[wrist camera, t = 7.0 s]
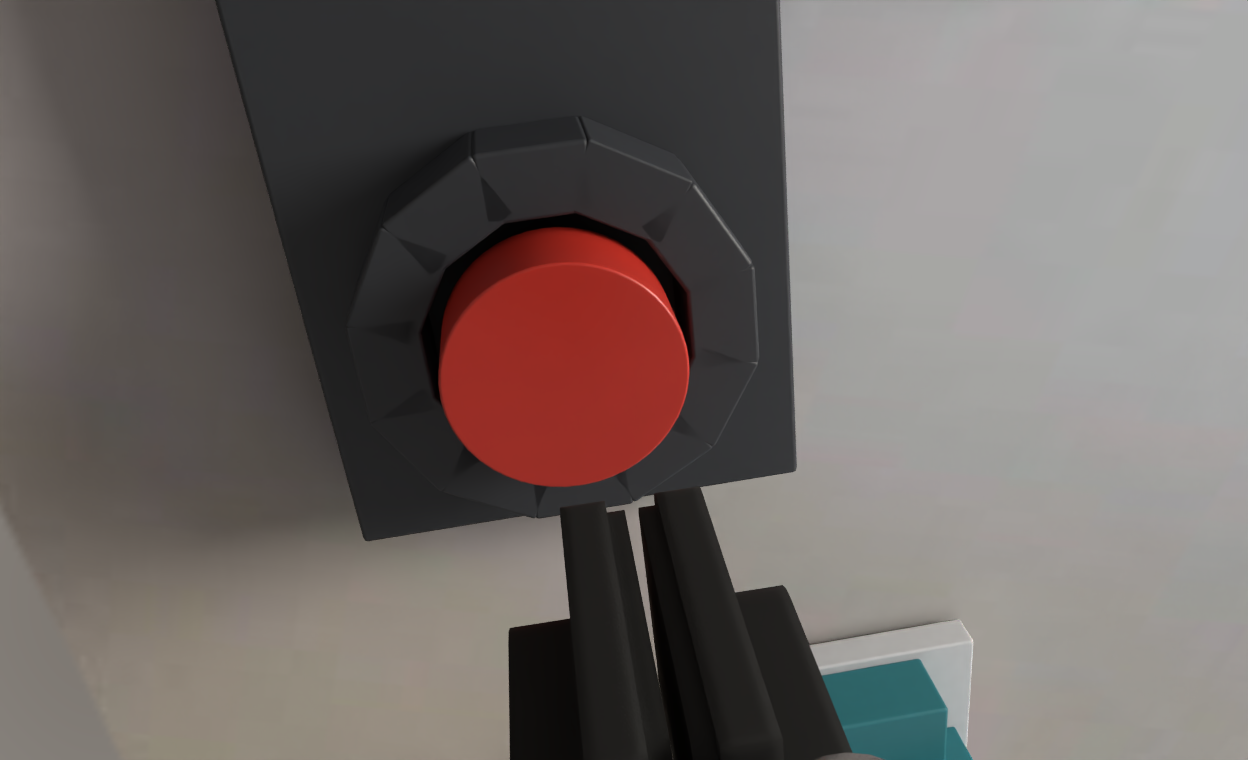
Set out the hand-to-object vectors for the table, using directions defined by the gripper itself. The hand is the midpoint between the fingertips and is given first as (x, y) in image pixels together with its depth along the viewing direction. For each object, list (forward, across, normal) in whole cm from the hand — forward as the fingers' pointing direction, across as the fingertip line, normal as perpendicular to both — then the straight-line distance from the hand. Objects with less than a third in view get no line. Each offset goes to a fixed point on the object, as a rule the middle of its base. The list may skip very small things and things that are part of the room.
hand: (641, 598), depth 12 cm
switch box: (+10, +1, -2) cm, 11 cm away
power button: (+7, +1, -1) cm, 7 cm away
